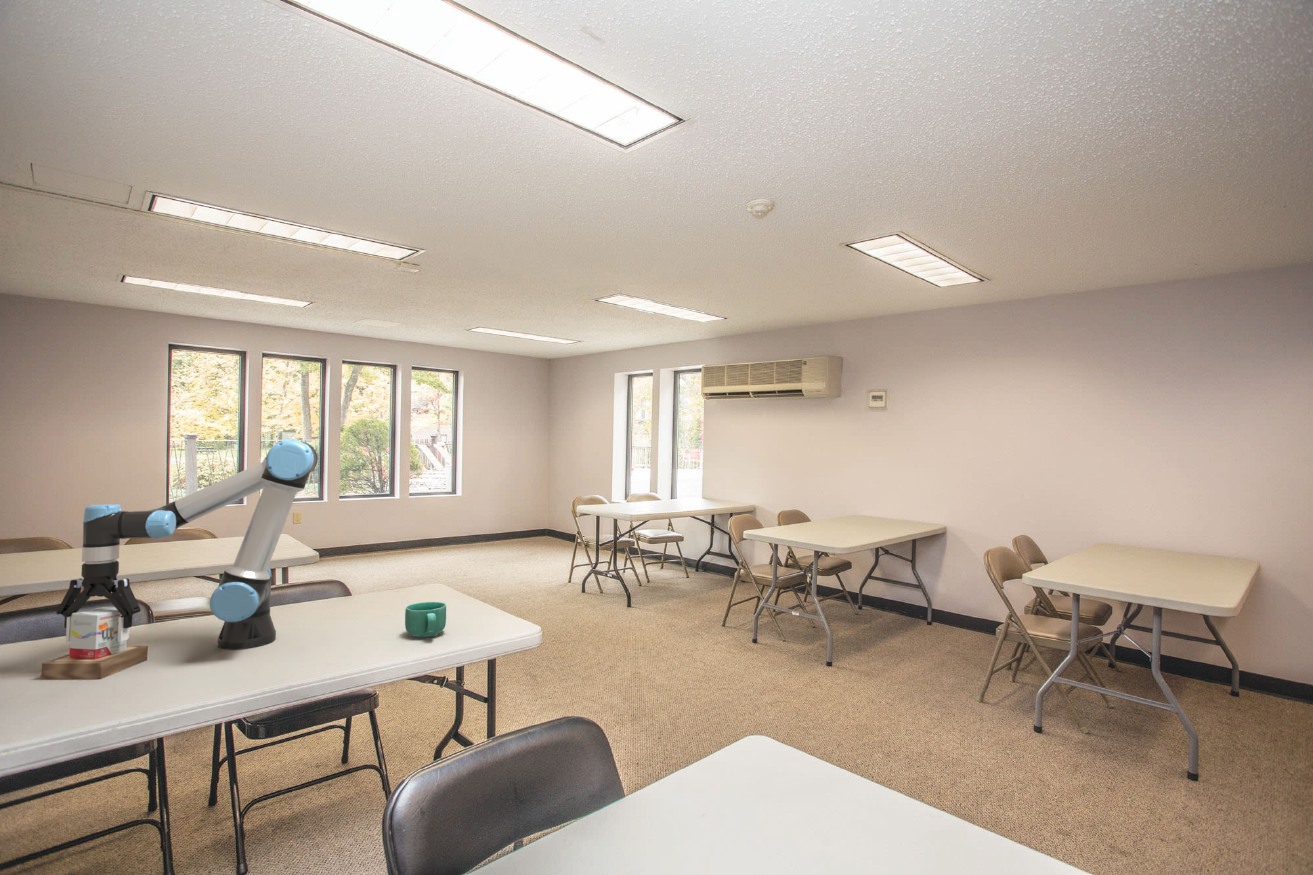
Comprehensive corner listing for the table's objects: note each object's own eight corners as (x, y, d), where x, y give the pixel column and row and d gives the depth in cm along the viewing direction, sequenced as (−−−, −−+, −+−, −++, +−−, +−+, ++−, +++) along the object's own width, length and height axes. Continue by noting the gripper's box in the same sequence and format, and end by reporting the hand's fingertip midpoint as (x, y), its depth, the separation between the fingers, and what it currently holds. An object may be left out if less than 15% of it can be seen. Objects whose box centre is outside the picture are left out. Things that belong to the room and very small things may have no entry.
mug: (403, 632, 203) (404, 603, 203) (443, 628, 208) (444, 600, 208) (406, 646, 188) (407, 615, 188) (449, 641, 193) (450, 611, 194)
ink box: (94, 659, 161) (96, 614, 161) (68, 657, 162) (69, 612, 163) (128, 649, 169) (129, 606, 170) (102, 648, 171) (103, 605, 171)
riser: (147, 659, 173) (147, 645, 174) (100, 678, 158) (101, 662, 159) (92, 660, 173) (93, 645, 173) (41, 679, 158) (41, 663, 158)
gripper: (158, 559, 171) (155, 636, 170) (66, 559, 170) (63, 636, 169) (136, 563, 163) (133, 644, 163) (40, 563, 163) (36, 644, 162)
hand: (97, 640), depth 166 cm, fingers open, 13 cm apart
